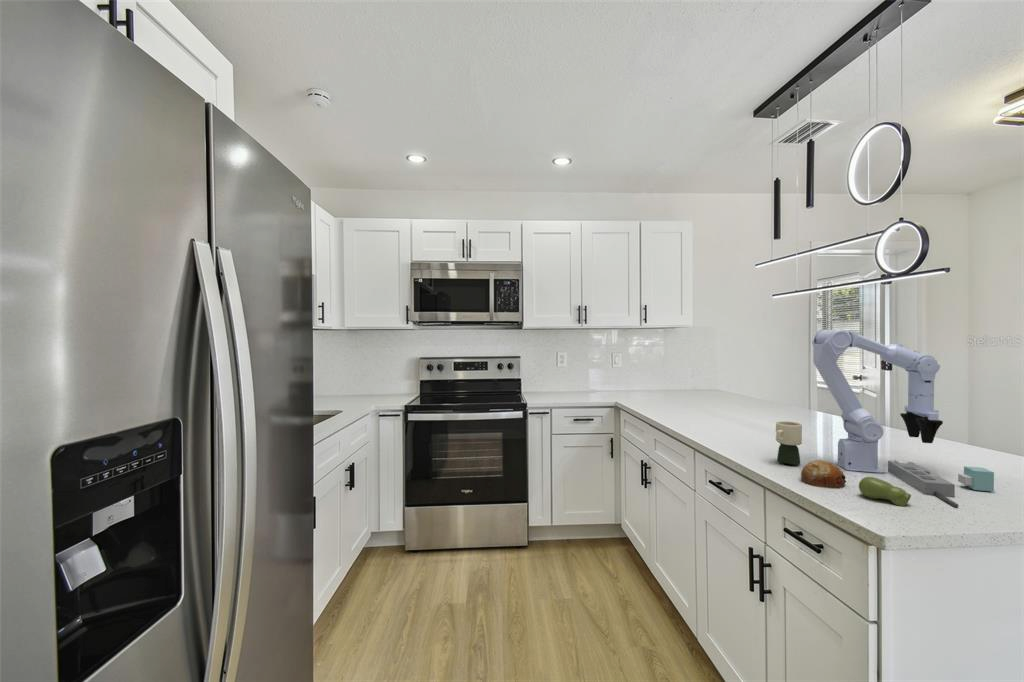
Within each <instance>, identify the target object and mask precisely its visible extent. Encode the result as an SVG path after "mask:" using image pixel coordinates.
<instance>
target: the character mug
mask: <svg viewBox="0 0 1024 682" xmlns="http://www.w3.org/2000/svg"><path fill="white" fill-rule="evenodd" d="M802 425H803V424H802V423H801V422H800V423H799V422H793V421H787V420H785V421H776V422H775V434H776V436H775V442H777V443H779V445H778V451H777V457H776V458H777V459H776V461H777V462H778V463H783V464H784V465H787V464H788V465H795V466H797V465H798V466H799V465H800V464H801V456H800V452H799V451H800V450H799V446H800V445H802V443H803V442H802V441H803V437H802V436H803V434H802V433H803V426H802Z"/></svg>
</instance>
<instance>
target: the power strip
mask: <svg viewBox="0 0 1024 682" xmlns="http://www.w3.org/2000/svg"><path fill="white" fill-rule="evenodd" d="M887 472H888V473H890V474H891V475H893V476H895V478H898V479H899V480H900V481H902V482H904V483H905V484H907V485H908V486H911V487H912V488H913V489H916V490H917V491H919V492H920V493H922V494H923V495H926V496H935V497H937V498H938V499H941V500H942V501H944V502H945V503H947V504H949V505H951V506H952V507H954V508H959V504H958V503H957V502H955V501H954V500H952V499H950V498H955V496H956V495H955V493H956V492H955V491H956V487H955V484H954V483H952V482H951V481H949V480H947V479H945V478H943V477H941V476H940V475H932V474H931V471H930V470H928V469H926V468H924V467H922V466H920V465H918V464H917V463H914V462H909V461H904V460H900V459H898V460H897V459H895V460H887ZM949 497H950V498H949Z"/></svg>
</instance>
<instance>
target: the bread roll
mask: <svg viewBox="0 0 1024 682" xmlns="http://www.w3.org/2000/svg"><path fill="white" fill-rule="evenodd" d="M800 478H801V480H802V481H803V482H804V483H805V484H808V485H811V486H815V487H818V488H826V487H828V488H827V489H840V488H839V487H841V488H843V487H844V485H845V484H846V483H847V480H846V478H847V477H846V475H845V473H844V471H843V470H841V469H840V468H839V467H838V466H836V465H834V464H833V463H832V462H828V461H825V460H822V459H815V460H811V461H809V462H808V463H806V464H805V465H803V467H802V469H801V472H800Z"/></svg>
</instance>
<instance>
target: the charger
mask: <svg viewBox="0 0 1024 682" xmlns="http://www.w3.org/2000/svg"><path fill="white" fill-rule="evenodd" d="M957 475H958V476H957V482H958V483H961V484H963V486H966V487H967V488H969V489H971V490H974V491H984V492H994V491H995V472H994V471H991V470H989V469H987V468H985V467H980V466H979V467H978V466H966V465H965V466H963V473H958V474H957Z"/></svg>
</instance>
